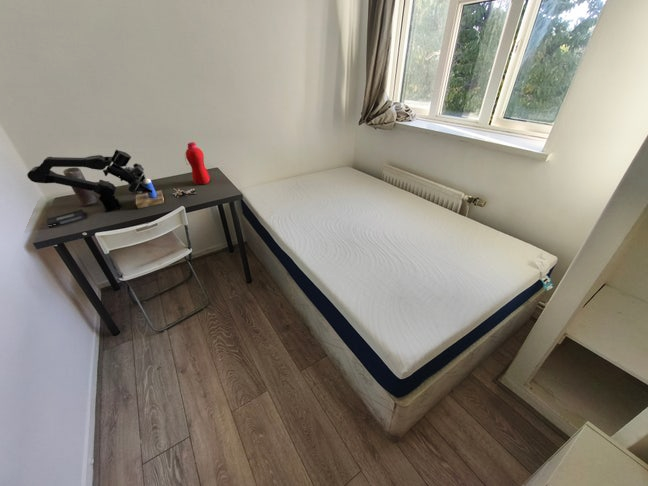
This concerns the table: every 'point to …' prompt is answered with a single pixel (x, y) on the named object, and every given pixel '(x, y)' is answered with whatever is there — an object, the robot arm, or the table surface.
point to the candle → (82, 194)
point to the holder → (149, 200)
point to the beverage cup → (128, 183)
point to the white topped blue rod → (149, 184)
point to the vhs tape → (65, 218)
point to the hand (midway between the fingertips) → (152, 189)
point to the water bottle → (197, 164)
